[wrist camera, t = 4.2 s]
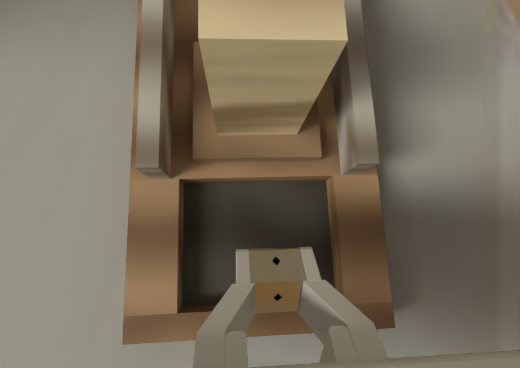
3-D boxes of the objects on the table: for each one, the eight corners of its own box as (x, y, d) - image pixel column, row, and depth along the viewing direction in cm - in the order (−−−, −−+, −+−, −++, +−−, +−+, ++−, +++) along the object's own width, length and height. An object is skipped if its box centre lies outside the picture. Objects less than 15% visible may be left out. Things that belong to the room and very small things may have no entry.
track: (379, 319, 20) (425, 344, 15) (134, 333, 19) (97, 366, 14) (333, -117, 27) (355, -197, 22) (152, -127, 26) (132, -214, 21)
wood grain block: (318, 160, 20) (396, 81, 10) (194, 162, 19) (149, 80, 9) (310, 50, 21) (370, -110, 11) (195, 49, 20) (156, -122, 11)
